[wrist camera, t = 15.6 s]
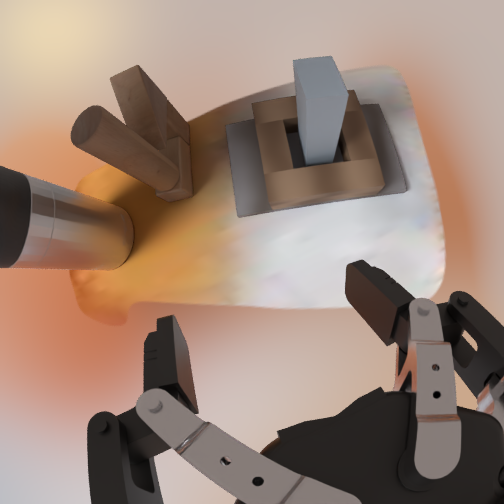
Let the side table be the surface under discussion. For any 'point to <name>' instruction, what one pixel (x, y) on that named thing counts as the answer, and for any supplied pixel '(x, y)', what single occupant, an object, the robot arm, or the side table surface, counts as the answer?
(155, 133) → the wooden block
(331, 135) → the rectangular block
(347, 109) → the wooden socket base
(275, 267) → the side table surface
